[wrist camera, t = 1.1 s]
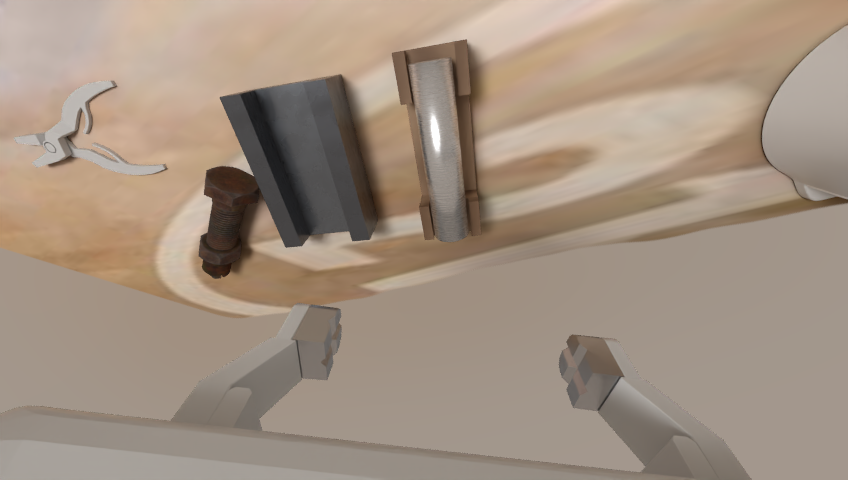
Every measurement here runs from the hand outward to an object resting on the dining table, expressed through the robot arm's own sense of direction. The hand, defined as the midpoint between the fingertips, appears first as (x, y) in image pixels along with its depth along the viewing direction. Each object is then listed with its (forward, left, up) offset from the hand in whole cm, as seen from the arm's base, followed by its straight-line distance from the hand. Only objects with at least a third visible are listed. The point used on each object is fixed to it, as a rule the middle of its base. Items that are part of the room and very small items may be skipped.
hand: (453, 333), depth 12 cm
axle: (+1, 0, -21) cm, 21 cm away
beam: (+1, 0, -26) cm, 26 cm away
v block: (+15, 0, -26) cm, 30 cm away
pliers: (+41, -6, -27) cm, 49 cm away
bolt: (+29, +6, -27) cm, 40 cm away
